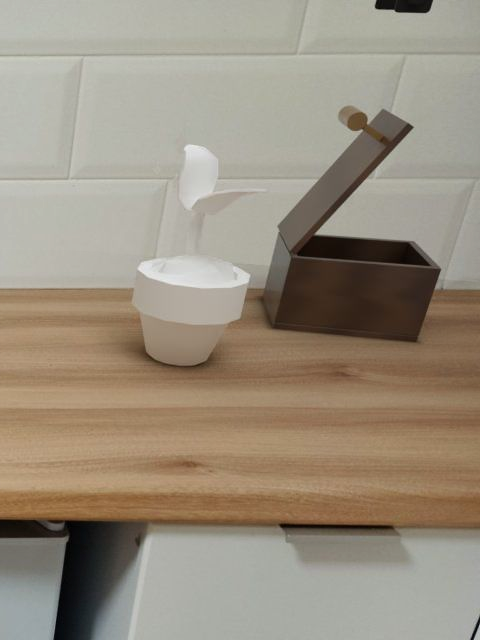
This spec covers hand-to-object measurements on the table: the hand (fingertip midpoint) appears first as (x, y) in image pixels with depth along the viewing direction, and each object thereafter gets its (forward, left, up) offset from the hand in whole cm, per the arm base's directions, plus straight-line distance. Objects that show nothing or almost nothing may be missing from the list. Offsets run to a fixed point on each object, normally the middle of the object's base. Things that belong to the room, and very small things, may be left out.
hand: (400, 11), depth 95 cm
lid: (+1, 0, -18) cm, 18 cm away
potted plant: (+17, +20, -34) cm, 43 cm away
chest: (-2, 0, -34) cm, 34 cm away
